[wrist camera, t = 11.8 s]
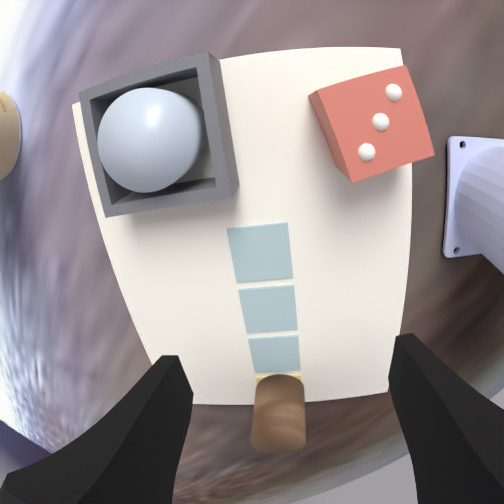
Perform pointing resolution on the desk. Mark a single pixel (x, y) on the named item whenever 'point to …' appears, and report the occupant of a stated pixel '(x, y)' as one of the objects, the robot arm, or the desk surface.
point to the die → (372, 123)
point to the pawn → (279, 415)
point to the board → (259, 232)
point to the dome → (151, 138)
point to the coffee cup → (9, 134)
